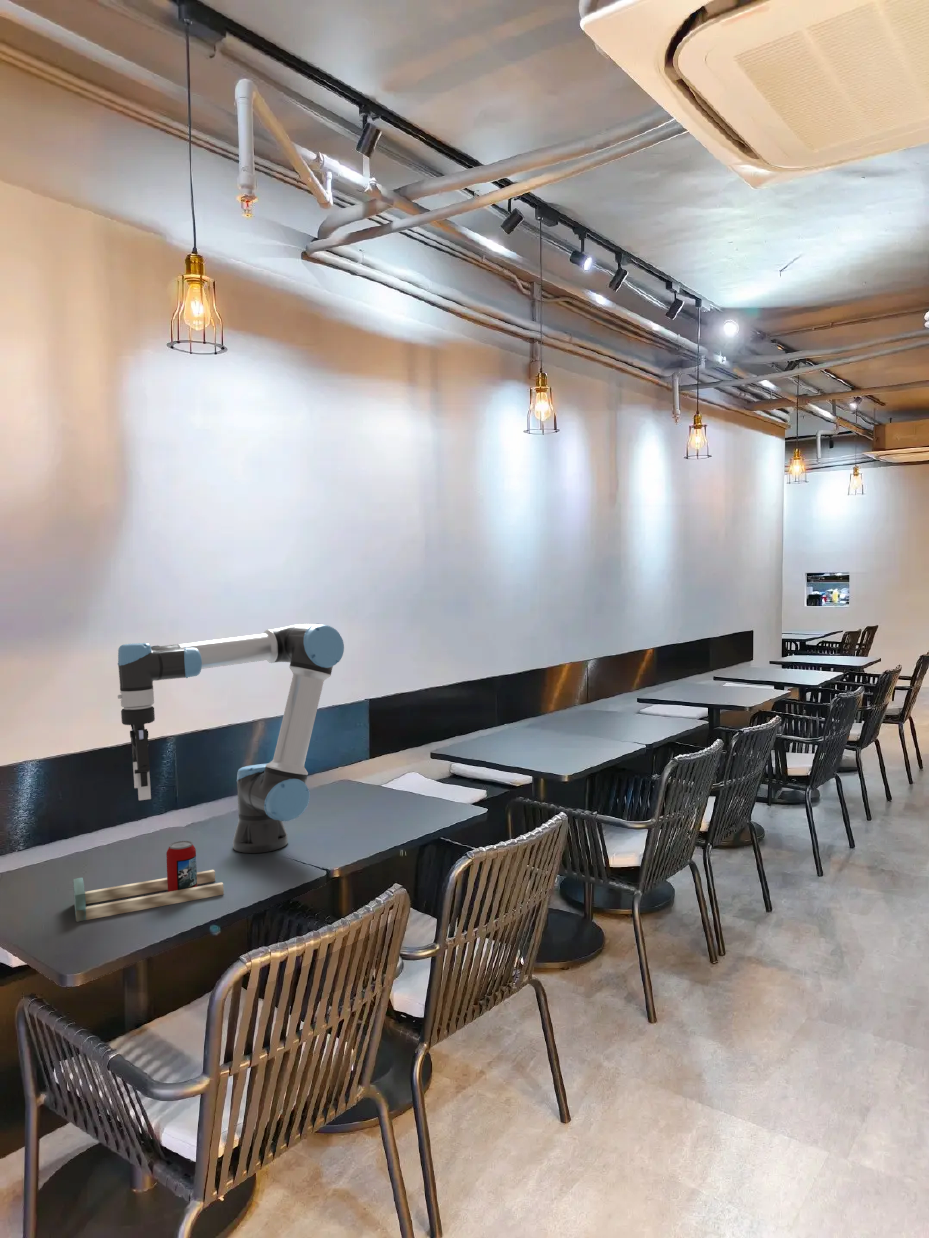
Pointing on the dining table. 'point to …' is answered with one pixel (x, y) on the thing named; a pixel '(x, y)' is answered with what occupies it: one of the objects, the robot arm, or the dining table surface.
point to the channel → (140, 902)
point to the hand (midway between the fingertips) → (142, 793)
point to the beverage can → (181, 866)
